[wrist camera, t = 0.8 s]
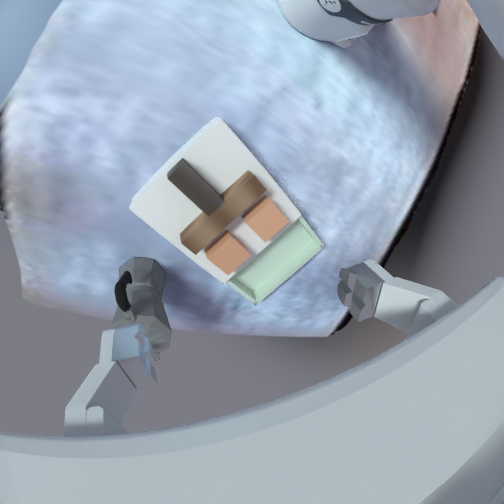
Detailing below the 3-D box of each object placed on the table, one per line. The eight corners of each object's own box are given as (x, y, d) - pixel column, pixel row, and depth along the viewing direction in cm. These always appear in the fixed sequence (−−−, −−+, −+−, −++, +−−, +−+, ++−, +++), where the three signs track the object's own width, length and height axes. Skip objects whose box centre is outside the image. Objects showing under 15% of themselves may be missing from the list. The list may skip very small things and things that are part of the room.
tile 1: (265, 194, 42) (271, 200, 40) (283, 215, 45) (289, 221, 43) (241, 216, 43) (245, 223, 41) (260, 235, 45) (265, 242, 43)
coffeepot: (174, 297, 52) (186, 372, 38) (130, 308, 50) (130, 383, 36) (152, 229, 44) (152, 298, 29) (102, 242, 42) (81, 315, 27)
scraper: (212, 130, 34) (216, 132, 32) (260, 183, 41) (267, 190, 38) (140, 200, 36) (139, 208, 34) (193, 245, 43) (195, 255, 40)
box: (290, 205, 50) (299, 212, 47) (316, 237, 55) (324, 246, 52) (218, 269, 52) (222, 280, 49) (250, 294, 58) (255, 305, 55)
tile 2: (227, 229, 43) (230, 236, 41) (246, 247, 46) (251, 255, 44) (204, 250, 44) (206, 258, 42) (224, 267, 46) (228, 275, 44)
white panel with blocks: (215, 116, 38) (220, 118, 34) (290, 205, 50) (301, 215, 46) (132, 198, 40) (129, 208, 36) (218, 269, 52) (223, 283, 48)
